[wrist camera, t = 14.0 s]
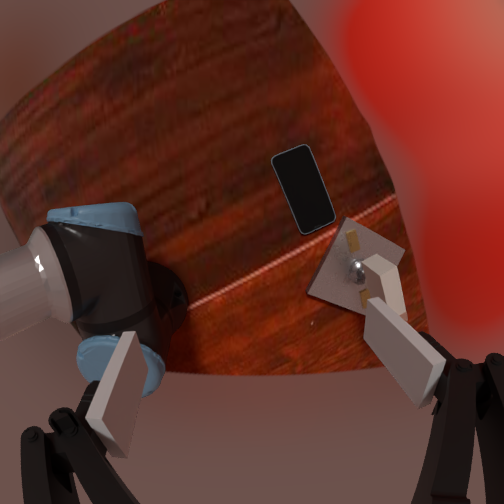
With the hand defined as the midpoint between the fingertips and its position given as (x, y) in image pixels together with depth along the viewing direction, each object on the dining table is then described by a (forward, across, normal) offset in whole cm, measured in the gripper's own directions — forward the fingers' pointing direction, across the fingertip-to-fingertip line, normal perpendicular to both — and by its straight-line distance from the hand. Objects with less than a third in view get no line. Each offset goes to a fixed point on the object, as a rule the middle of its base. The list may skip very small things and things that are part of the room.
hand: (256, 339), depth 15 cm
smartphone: (+37, +14, +4) cm, 40 cm away
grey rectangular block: (+30, +24, -13) cm, 40 cm away
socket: (+37, +24, -13) cm, 46 cm away
